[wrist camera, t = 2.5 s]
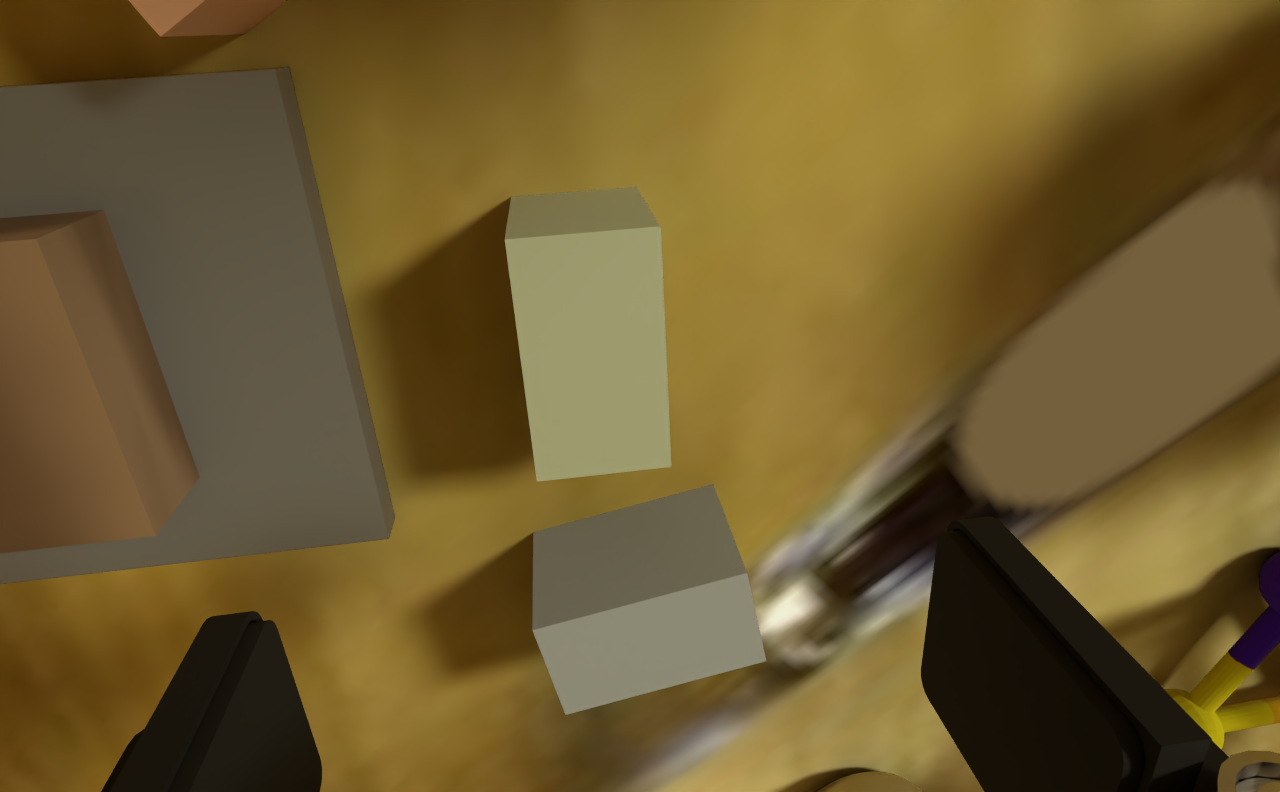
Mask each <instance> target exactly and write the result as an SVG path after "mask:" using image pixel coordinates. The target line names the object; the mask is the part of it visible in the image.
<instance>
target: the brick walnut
mask: <svg viewBox="0 0 1280 792" xmlns="http://www.w3.org/2000/svg"><path fill="white" fill-rule="evenodd" d="M199 477H200V476H199V473H198V471H197V468H196V465H195V462H194V460H193V457H192V454H191V451H190V448H189V446H188V443H187V440H186V437H185V434H184V432H183V429H182V426H181V423H180V420H179V418H178V415H177V412H176V409H175V406H174V404H173V401H172V398H171V395H170V392H169V390H168V387H167V384H166V381H165V379H164V376H163V373H162V370H161V367H160V365H159V362H158V359H157V356H156V353H155V351H154V348H153V345H152V342H151V339H150V337H149V334H148V331H147V328H146V325H145V323H144V320H143V317H142V314H141V311H140V309H139V306H138V303H137V300H136V297H135V295H134V292H133V289H132V286H131V284H130V281H129V278H128V275H127V272H126V270H125V267H124V264H123V261H122V258H121V256H120V253H119V250H118V247H117V244H116V242H115V239H114V236H113V233H112V230H111V228H110V225H109V222H108V219H107V216H106V214H105V211H104V210H96V211H84V212H71V213H59V214H46V215H34V216H21V217H8V218H0V553H9V552H18V551H27V550H35V549H44V548H53V547H62V546H71V545H79V544H88V543H97V542H106V541H115V540H123V539H132V538H141V537H150V536H156V535H157V534H158V532H159V531H160V530H161V528H162V527H163V526H164V524H165V523H166V522H167V520H168V519H169V518H170V516H171V515H172V514H173V512H174V511H175V509H176V508H177V507H178V505H179V504H180V503H181V501H182V500H183V499H184V497H185V496H186V495H187V493H188V492H189V491H190V489H191V488H192V487H193V485H194V484H195V483H196V481H197V480H198V479H199Z"/></svg>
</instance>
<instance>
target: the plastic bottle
mask: <svg viewBox="0 0 1280 792" xmlns="http://www.w3.org/2000/svg"><path fill="white" fill-rule="evenodd" d="M818 792H923V791H922V790H921V789H919V788H918V787H917V786H915V785H914V784H912V783H910V782H908V781H907V780H905V779H903V778H901V777H899V776H897V775H895V774H891V773H886V772H876V771H872V772H861V773H857V774H852V775H849V776H846V777H843V778H840V779H838V780H836V781H834V782H832V783H830V784H828V785H826V786H825V787H823V788H822V789H820V790H819V791H818Z"/></svg>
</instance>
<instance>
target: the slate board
mask: <svg viewBox="0 0 1280 792" xmlns="http://www.w3.org/2000/svg"><path fill="white" fill-rule="evenodd" d="M96 210H104V211H105V214H106V216H107V219H108V222H109V225H110V228H111V230H112V233H113V236H114V239H115V242H116V244H117V247H118V250H119V253H120V256H121V258H122V261H123V264H124V267H125V270H126V272H127V275H128V278H129V281H130V284H131V286H132V289H133V292H134V295H135V297H136V300H137V303H138V306H139V309H140V311H141V314H142V317H143V320H144V323H145V325H146V328H147V331H148V334H149V337H150V339H151V342H152V345H153V348H154V351H155V353H156V356H157V359H158V362H159V365H160V367H161V370H162V373H163V376H164V379H165V381H166V384H167V387H168V390H169V392H170V395H171V398H172V401H173V404H174V406H175V409H176V412H177V415H178V418H179V420H180V423H181V426H182V429H183V432H184V434H185V437H186V440H187V443H188V446H189V448H190V451H191V454H192V457H193V460H194V462H195V465H196V468H197V471H198V473H199V476H200V477H199V479H198V480H197V481H196V483H195V484H194V485H193V487H192V488H191V489H190V491H189V492H188V493H187V495H186V496H185V497H184V499H183V500H182V501H181V503H180V504H179V505H178V507H177V508H176V509H175V511H174V512H173V514H172V515H171V516H170V518H169V519H168V520H167V522H166V523H165V524H164V526H163V527H162V528H161V530H160V531H159V532H158V534H157V535H156V536H150V537H141V538H132V539H123V540H115V541H106V542H97V543H88V544H79V545H71V546H62V547H53V548H44V549H35V550H27V551H18V552H9V553H0V584H6V583H14V582H23V581H31V580H40V579H48V578H57V577H65V576H74V575H83V574H91V573H100V572H108V571H117V570H125V569H134V568H143V567H151V566H160V565H168V564H177V563H185V562H194V561H202V560H211V559H220V558H228V557H237V556H245V555H254V554H262V553H271V552H279V551H288V550H297V549H305V548H314V547H322V546H331V545H339V544H348V543H357V542H365V541H374V540H382V539H389V537H390V534H391V530H392V527H393V523H394V520H395V515H394V511H393V507H392V502H391V498H390V494H389V490H388V485H387V481H386V477H385V473H384V468H383V464H382V460H381V456H380V451H379V447H378V443H377V439H376V434H375V430H374V426H373V422H372V417H371V413H370V409H369V405H368V400H367V396H366V392H365V388H364V383H363V379H362V375H361V371H360V366H359V362H358V358H357V354H356V349H355V345H354V341H353V337H352V332H351V328H350V324H349V320H348V315H347V311H346V307H345V303H344V298H343V294H342V290H341V286H340V281H339V277H338V273H337V269H336V264H335V260H334V256H333V252H332V247H331V243H330V239H329V234H328V230H327V226H326V222H325V217H324V213H323V209H322V205H321V200H320V196H319V192H318V188H317V183H316V179H315V175H314V171H313V166H312V162H311V158H310V154H309V149H308V145H307V141H306V137H305V132H304V128H303V124H302V120H301V115H300V111H299V107H298V103H297V98H296V94H295V90H294V86H293V81H292V77H291V73H290V69H289V67H281V68H266V69H250V70H235V71H220V72H205V73H190V74H175V75H160V76H145V77H130V78H115V79H100V80H85V81H70V82H55V83H39V84H24V85H9V86H0V218H8V217H21V216H34V215H46V214H59V213H71V212H84V211H96Z"/></svg>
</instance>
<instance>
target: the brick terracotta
mask: <svg viewBox="0 0 1280 792" xmlns="http://www.w3.org/2000/svg"><path fill="white" fill-rule="evenodd" d="M128 1H129V2H130V3H131V4H132V5H133V6H134V8H135V9H136V10H137V11H138V12H139V13H140V14H141V16H142V17H143V18H144V19H145V20H146V21H147V22H148V24H149V25H150V26H151V27H152V28H153V29H154V30H155V32H156V33H157V34H158V35H159V36H160V37H176V36H207V35H238V34H245V33H246V32H248V31H249V30H250V29H251V28H253V27H254V26H255V25H256V24H258V23H259V22H260V21H261V20H263V19H264V18H265V17H266V16H268V15H269V14H270V13H271V12H273V11H274V10H275V9H276V8H278V7H279V6H280V5H281V4H282V3H284V2H285V1H286V0H128Z"/></svg>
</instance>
